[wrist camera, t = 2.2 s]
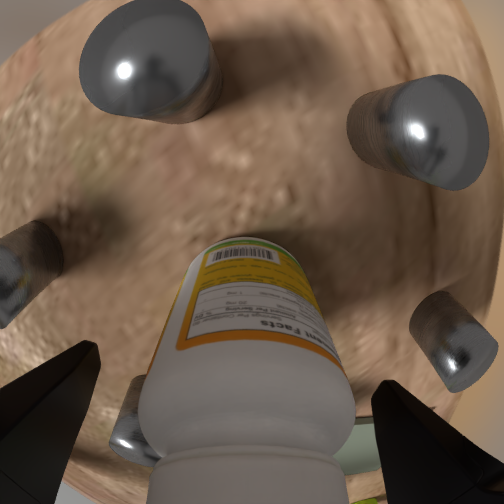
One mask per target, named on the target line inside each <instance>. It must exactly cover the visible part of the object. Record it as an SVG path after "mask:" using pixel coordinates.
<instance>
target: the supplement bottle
mask: <svg viewBox="0 0 504 504" xmlns="http://www.w3.org/2000/svg"><path fill="white" fill-rule="evenodd" d="M355 416H356V408H355V401H354V397H353V394H352V391H351V388H350V385H349V382H348V379H347V376H346V374H345V371H344V369H343V366H342V364H341V361H340V358H339V356H338V354H337V351H336V349H335V346H334V344H333V341H332V338H331V336H330V334H329V331H328V328H327V326H326V323H325V321H324V318H323V316H322V313H321V311H320V308H319V306H318V304H317V301H316V299H315V296H314V294H313V291H312V289H311V287H310V284H309V282H308V279H307V277H306V275H305V273H304V271H303V269H302V268H301V266H300V264H299V263H298V262H297V260H296V259H295V258H294V257H293V256H292V255H291V254H290V253H289V252H288V251H286V250H285V249H284V248H282V247H280V246H279V245H277V244H275V243H272V242H270V241H267V240H263V239H259V238H253V237H237V238H230V239H226V240H223V241H220V242H217V243H215V244H213V245H211V246H210V247H208V248H206V249H205V250H204V251H203V252H201V253H200V254H199V255H198V256H197V257H196V258H195V259H194V260H193V262H192V263H191V264H190V266H189V268H188V270H187V272H186V273H185V275H184V278H183V280H182V283H181V285H180V287H179V290H178V293H177V295H176V298H175V300H174V303H173V305H172V308H171V310H170V313H169V315H168V318H167V321H166V323H165V326H164V329H163V331H162V334H161V336H160V339H159V342H158V344H157V347H156V350H155V353H154V355H153V358H152V361H151V363H150V366H149V369H148V371H147V374H146V377H145V381H144V384H143V387H142V391H141V395H140V399H139V403H138V420H139V424H140V428H141V431H142V433H143V435H144V437H145V439H146V441H147V442H148V444H149V445H150V446H151V447H152V449H153V450H154V451H155V452H156V453H157V454H159V455H160V456H161V457H162V458H161V459H160V460H159V461H158V462H157V463H156V464H155V465H154V469H153V472H152V473H151V475H150V478H149V488H148V495H147V501H146V504H349V499H348V494H347V488H346V482H345V475H344V473H343V471H342V470H341V467H340V464H339V463H338V461H337V460H336V459H334V458H333V457H332V456H333V455H334V454H335V453H336V452H338V451H339V450H340V448H341V447H342V446H343V445H344V444H345V442H346V441H347V439H348V438H349V436H350V434H351V432H352V429H353V427H354V423H355Z"/></svg>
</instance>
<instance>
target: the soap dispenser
mask: <svg viewBox="0 0 504 504" xmlns="http://www.w3.org/2000/svg"><path fill="white" fill-rule="evenodd" d="M352 504H377V500H376V498H371V499H366V500H362V501H358V502H355V503H352Z"/></svg>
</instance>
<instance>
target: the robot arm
mask: <svg viewBox="0 0 504 504" xmlns="http://www.w3.org/2000/svg"><path fill="white" fill-rule="evenodd" d="M100 368H101V360H100V355H99V350H98V345H97V344H96V343H94V342H91V341H88V340H83V341H81V342H80V343H78V344H76V345H74V346H73V347H71V348H69V349H67V350H66V351H64V352H62V353H60V354H59V355H57V356H55V357H53V358H52V359H50V360H48V361H46V362H45V363H43V364H41V365H40V366H38V367H36V368H34V369H33V370H31V371H29V372H27V373H26V374H24V375H22V376H21V377H19V378H17V379H15V380H14V381H12V382H10V383H9V384H7V385H5V386H3V387H2V388H0V504H54V503H55V500H56V496H57V493H58V489H59V487H60V484H61V481H62V477H63V474H64V471H65V469H66V466H67V463H68V460H69V457H70V454H71V452H72V449H73V446H74V444H75V441H76V438H77V436H78V433H79V431H80V428H81V426H82V423H83V421H84V418H85V416H86V413H87V411H88V408H89V405H90V401H91V398H92V394H93V391H94V388H95V384H96V381H97V378H98V375H99V371H100ZM371 406H372V414H373V422H374V431H375V438H376V444H377V448H378V453H379V458H380V463H381V468H382V473H383V478H384V484H385V490H386V495H387V501H388V504H504V463H502V462H501V461H499V460H498V459H496V458H494V457H493V456H491V455H490V454H488V453H487V452H485V451H483V450H482V449H481V448H479V447H478V446H476V445H475V444H474V443H473V442H471V441H470V440H468V439H467V438H466V437H465V436H463V435H462V434H461V433H460V432H458V431H457V430H456V429H455V428H454V427H452V426H451V425H450V424H448V423H447V422H446V421H445V420H443V419H442V418H441V417H440V416H438V415H437V414H436V413H435V412H433V411H432V410H431V409H430V408H428V407H427V406H426V405H425V404H423V403H422V402H421V401H420V400H419V399H417V398H416V397H415V396H414V395H412V394H411V393H410V392H409V391H407V390H406V389H405V388H404V387H402V386H401V385H400V384H399V383H397V382H396V381H395V380H383V381H382V382H381V383H380V385H379V386H378V388H377V389H376V391H375V392H374V394H373V395H372V398H371Z"/></svg>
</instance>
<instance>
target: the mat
mask: <svg viewBox="0 0 504 504" xmlns="http://www.w3.org/2000/svg"><path fill="white" fill-rule="evenodd" d="M332 457H333V458H334V459H336V460H337V461H338V463H339V464H340V467H341V470H342V471H343V473H344V475H351V474H358V473H364V472H370V471H375V470H378V469H379V468H380V467H381V463H380V458H379V453H378V448H377V444H376V438H375V431H374V422H373V417H369V418H355V423H354V427H353V429H352V432H351V434H350V436H349V438H348V439H347V441H346V442H345V444H344V445H343V446H342V447H341V448H340V450H339V451H338V452H336V453H335V454H334V455H333V456H332Z"/></svg>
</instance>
